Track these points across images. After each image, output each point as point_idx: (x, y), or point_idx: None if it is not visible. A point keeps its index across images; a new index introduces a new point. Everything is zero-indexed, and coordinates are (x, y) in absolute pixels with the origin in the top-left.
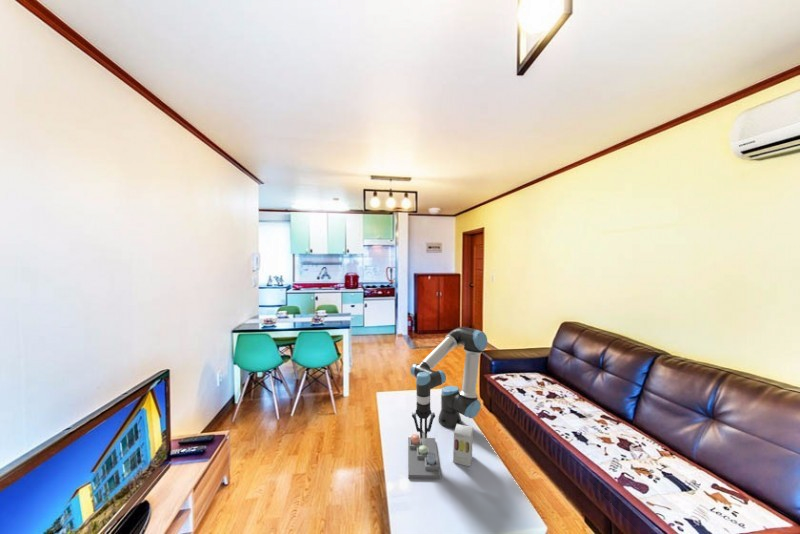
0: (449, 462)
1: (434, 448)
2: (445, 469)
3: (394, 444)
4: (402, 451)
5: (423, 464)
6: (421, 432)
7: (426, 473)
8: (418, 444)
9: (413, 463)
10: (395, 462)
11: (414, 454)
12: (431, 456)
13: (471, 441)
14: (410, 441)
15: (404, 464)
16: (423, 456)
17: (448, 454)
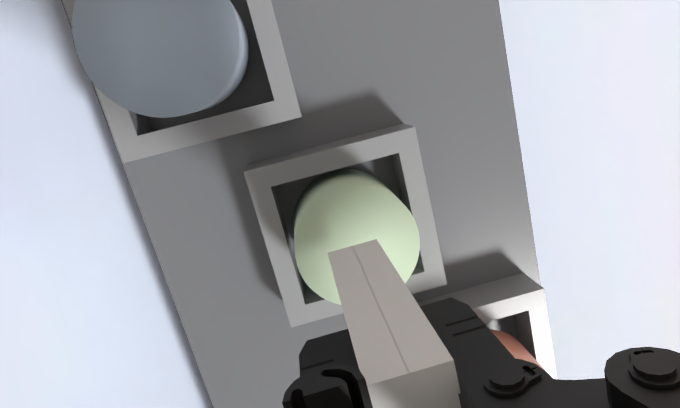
0: (11, 231)
1: (225, 370)
2: (26, 96)
3: (677, 322)
4: (580, 244)
5: (299, 36)
6: (487, 371)
7: None
8: None
9: (432, 18)
10: (633, 45)
11: (448, 189)
12: (149, 13)
13: None
14: (543, 366)
15: (529, 41)
16: (324, 149)
17: (60, 357)
